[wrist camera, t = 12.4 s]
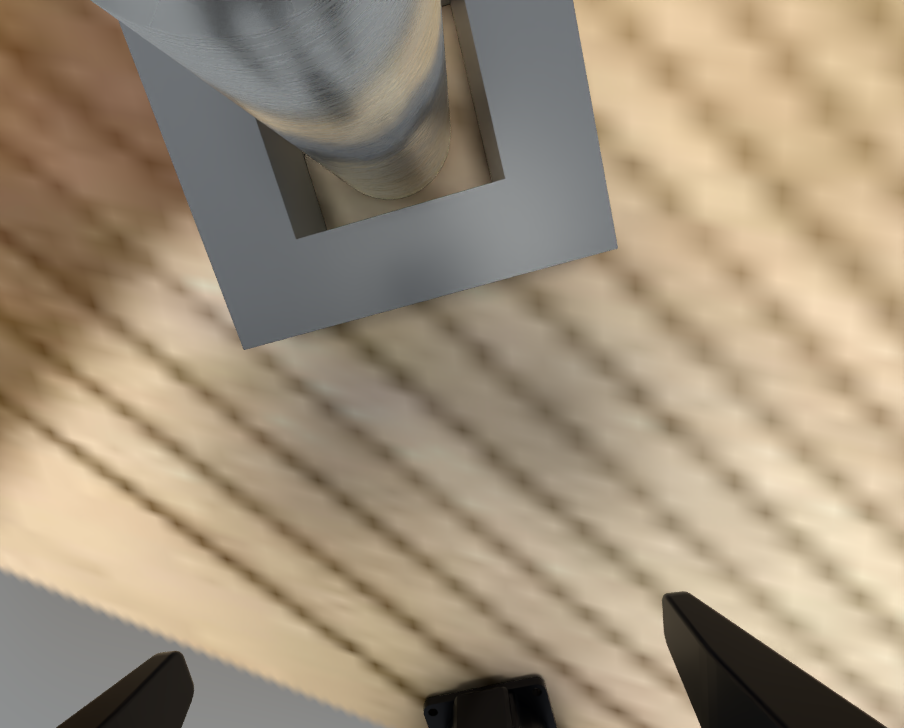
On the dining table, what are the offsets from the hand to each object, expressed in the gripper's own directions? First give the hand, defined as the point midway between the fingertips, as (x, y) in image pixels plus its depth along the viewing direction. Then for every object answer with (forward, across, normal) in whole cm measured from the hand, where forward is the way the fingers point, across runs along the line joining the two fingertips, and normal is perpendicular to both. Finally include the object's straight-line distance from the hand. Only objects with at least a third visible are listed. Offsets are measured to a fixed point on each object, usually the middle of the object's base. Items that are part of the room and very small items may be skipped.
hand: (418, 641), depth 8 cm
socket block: (+12, 0, -12) cm, 17 cm away
